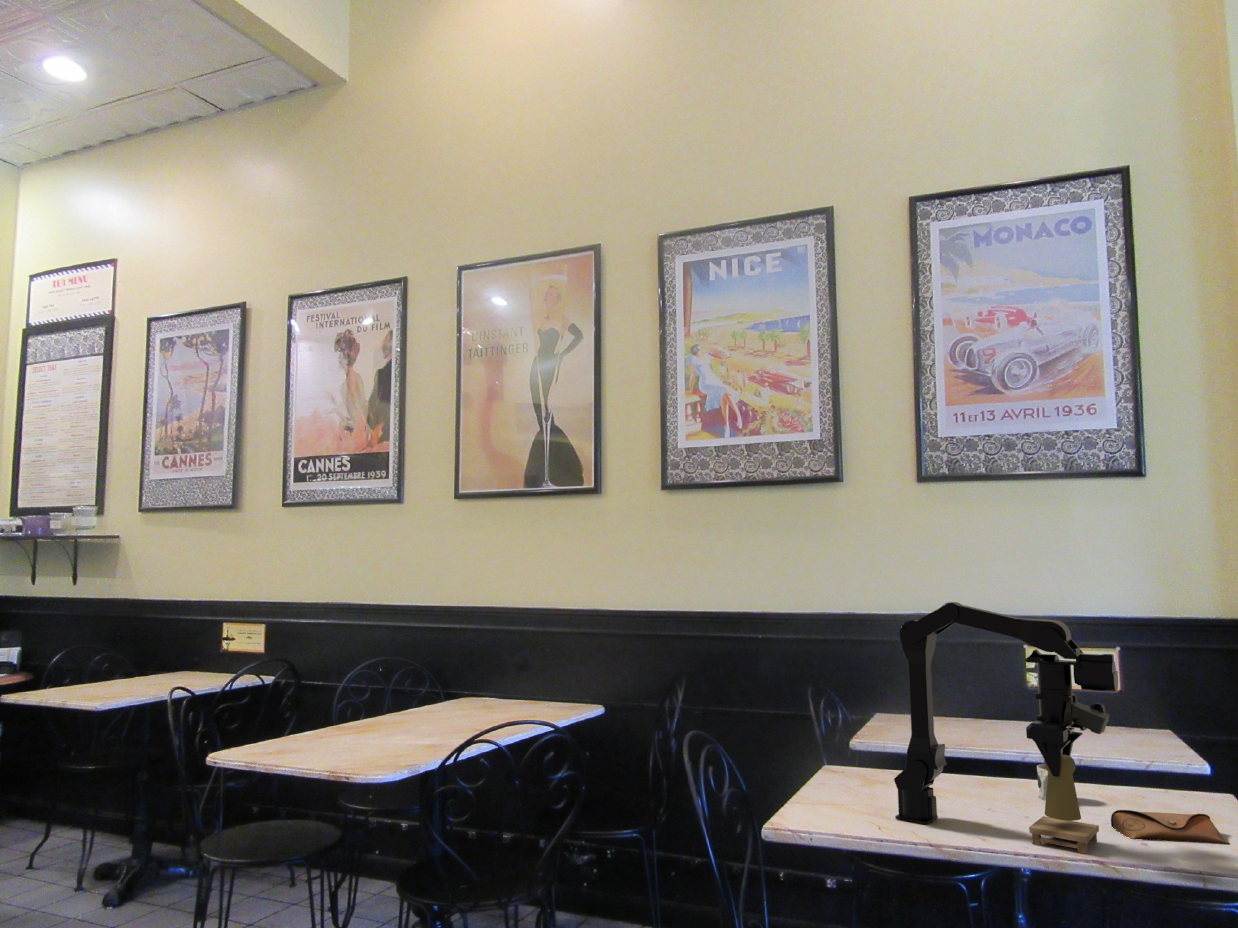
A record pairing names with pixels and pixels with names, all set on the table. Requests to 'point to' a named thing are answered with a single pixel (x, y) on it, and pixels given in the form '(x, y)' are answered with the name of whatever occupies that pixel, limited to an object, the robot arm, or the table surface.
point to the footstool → (1064, 832)
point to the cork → (1062, 792)
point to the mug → (1042, 781)
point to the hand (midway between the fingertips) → (1060, 773)
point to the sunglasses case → (1166, 826)
